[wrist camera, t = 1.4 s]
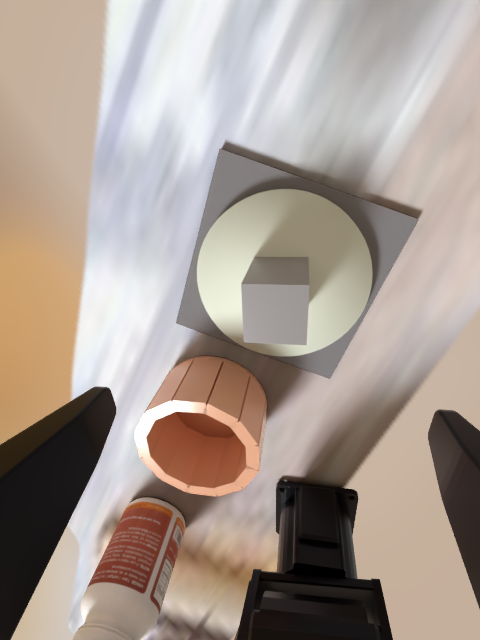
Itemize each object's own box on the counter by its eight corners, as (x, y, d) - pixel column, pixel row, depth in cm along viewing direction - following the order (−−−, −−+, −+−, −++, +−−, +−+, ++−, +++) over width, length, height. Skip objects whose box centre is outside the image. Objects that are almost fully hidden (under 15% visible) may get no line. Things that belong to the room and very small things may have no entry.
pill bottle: (115, 507, 34) (39, 650, 24) (154, 486, 32) (87, 636, 22) (159, 542, 35) (104, 690, 26) (200, 524, 33) (156, 682, 23)
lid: (359, 353, 22) (375, 409, 17) (207, 346, 23) (183, 395, 19) (381, 185, 17) (410, 197, 12) (192, 191, 19) (155, 203, 14)
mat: (329, 375, 23) (329, 378, 23) (177, 320, 23) (175, 323, 23) (416, 218, 18) (418, 219, 18) (221, 148, 18) (219, 148, 18)
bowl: (267, 444, 27) (260, 502, 22) (171, 435, 28) (146, 487, 24) (266, 358, 23) (257, 406, 19) (156, 353, 25) (125, 396, 20)
